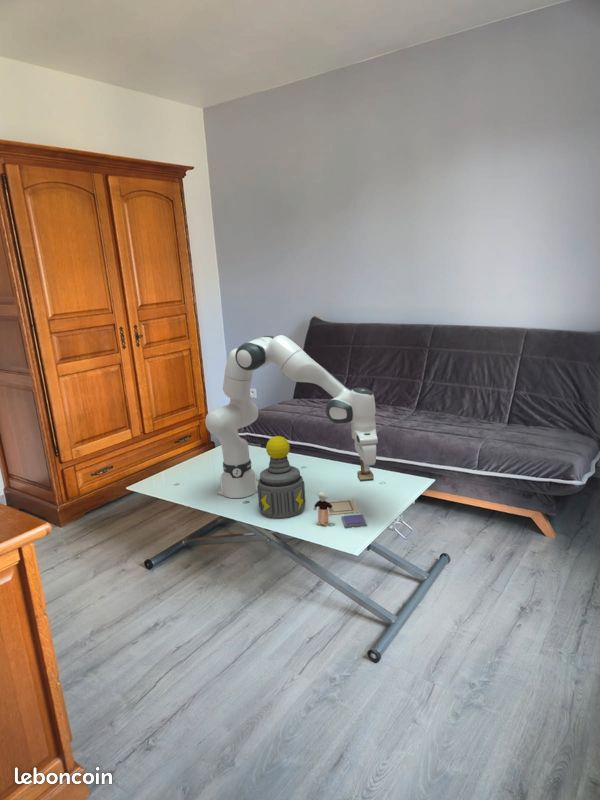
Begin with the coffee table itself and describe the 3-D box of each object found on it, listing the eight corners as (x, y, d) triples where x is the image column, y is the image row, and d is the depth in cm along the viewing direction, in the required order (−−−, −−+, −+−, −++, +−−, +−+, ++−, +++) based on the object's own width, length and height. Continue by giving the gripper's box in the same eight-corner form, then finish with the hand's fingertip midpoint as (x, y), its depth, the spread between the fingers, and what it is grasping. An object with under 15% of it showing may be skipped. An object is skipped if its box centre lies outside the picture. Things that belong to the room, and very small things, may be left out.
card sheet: (323, 502, 216) (323, 501, 216) (352, 499, 217) (352, 498, 217) (326, 515, 205) (326, 514, 205) (358, 512, 205) (358, 511, 205)
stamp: (357, 476, 201) (356, 459, 200) (370, 475, 202) (370, 457, 200) (360, 481, 197) (359, 463, 195) (373, 480, 197) (373, 462, 195)
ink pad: (341, 518, 201) (341, 515, 201) (362, 516, 202) (362, 513, 201) (344, 528, 193) (344, 525, 193) (366, 526, 194) (366, 522, 194)
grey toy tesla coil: (280, 495, 226) (275, 427, 219) (316, 505, 214) (311, 433, 207) (248, 512, 212) (242, 439, 205) (285, 524, 200) (279, 447, 193)
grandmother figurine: (313, 526, 196) (311, 494, 194) (314, 521, 200) (312, 489, 197) (334, 526, 195) (332, 494, 192) (335, 522, 199) (333, 489, 196)
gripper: (349, 425, 205) (351, 459, 208) (360, 441, 185) (362, 479, 188) (366, 424, 205) (367, 458, 209) (379, 440, 186) (379, 477, 189)
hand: (365, 468), depth 198 cm, fingers closed on stamp, 3 cm apart
